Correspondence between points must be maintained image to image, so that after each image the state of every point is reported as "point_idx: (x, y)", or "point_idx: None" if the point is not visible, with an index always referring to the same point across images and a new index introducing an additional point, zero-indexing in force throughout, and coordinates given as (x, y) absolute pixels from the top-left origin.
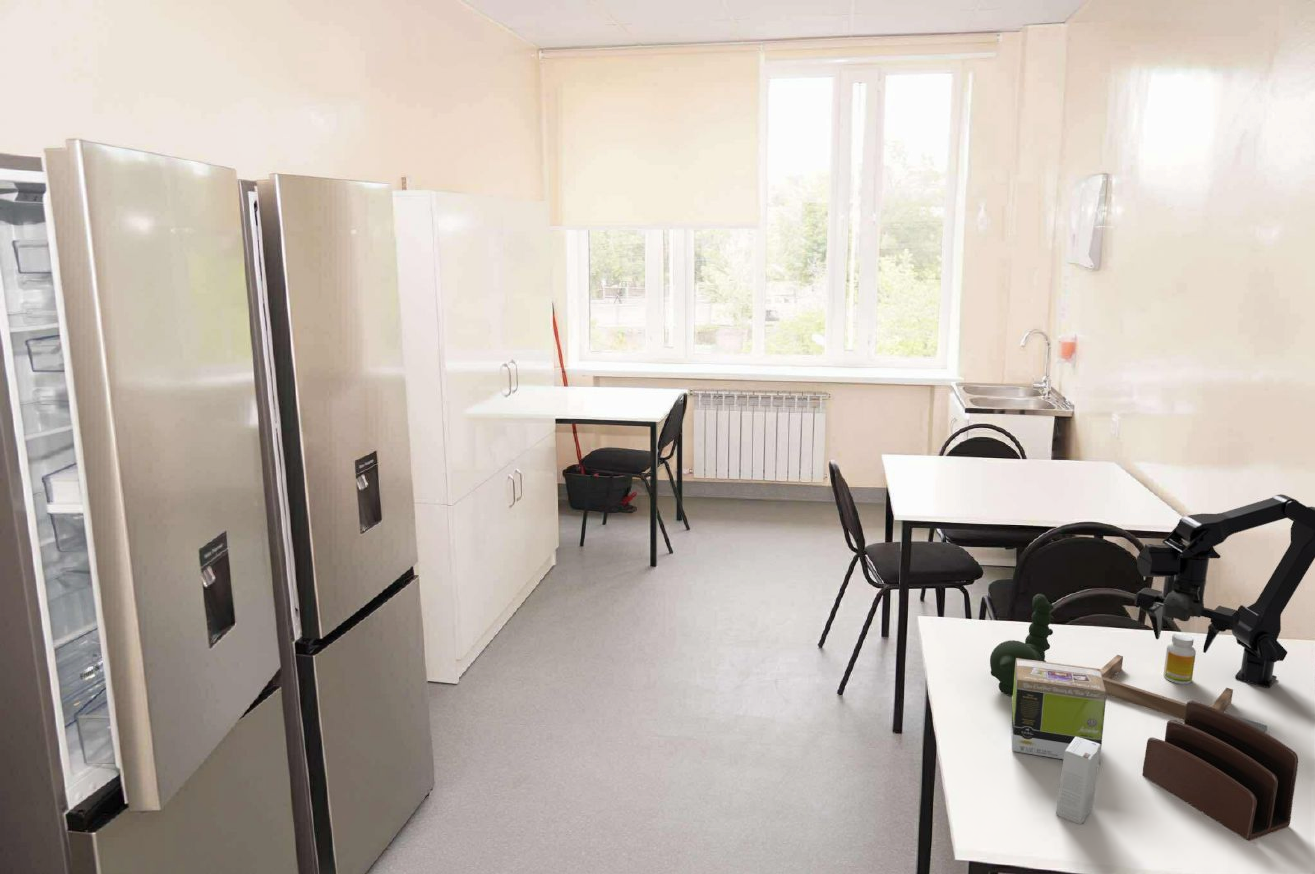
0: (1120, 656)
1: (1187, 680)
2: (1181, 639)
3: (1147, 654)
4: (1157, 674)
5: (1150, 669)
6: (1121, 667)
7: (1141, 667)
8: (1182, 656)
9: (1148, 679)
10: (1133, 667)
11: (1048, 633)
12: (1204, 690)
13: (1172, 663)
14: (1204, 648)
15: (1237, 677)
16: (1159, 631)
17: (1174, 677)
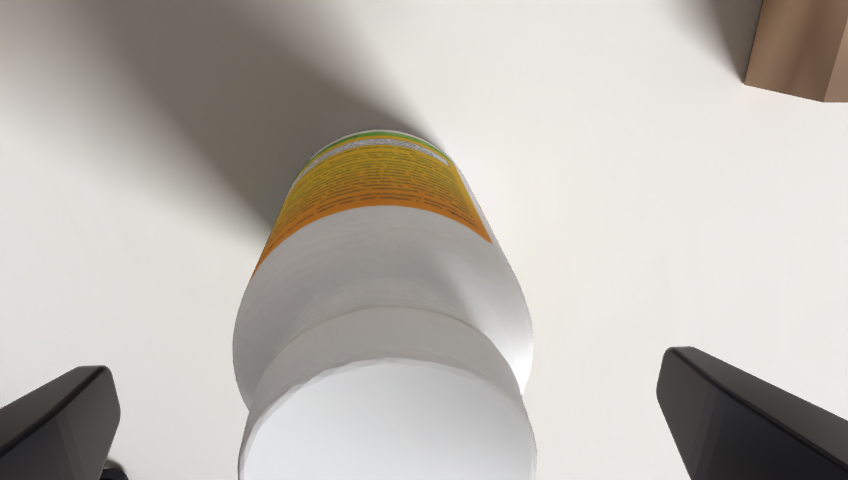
0: (846, 79)
1: (294, 180)
2: (375, 374)
3: (622, 424)
4: (508, 185)
5: (565, 231)
6: (756, 74)
7: (622, 219)
8: (325, 214)
9: (541, 43)
10: (670, 178)
11: None
12: (169, 161)
13: (416, 174)
14: (54, 393)
15: (105, 475)
16: (714, 448)
17: (378, 136)
